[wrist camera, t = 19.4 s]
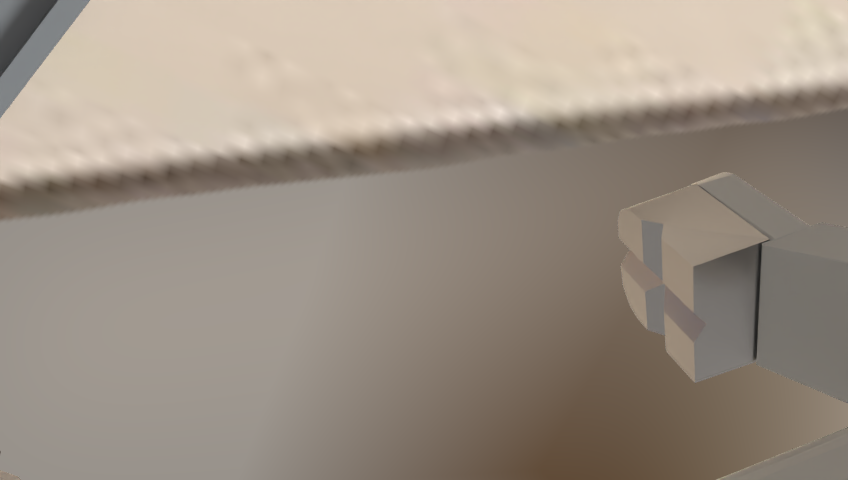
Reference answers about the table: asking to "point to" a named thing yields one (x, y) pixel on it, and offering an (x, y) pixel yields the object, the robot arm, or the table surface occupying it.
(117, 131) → the table surface
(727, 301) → the robot arm
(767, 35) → the table surface
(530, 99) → the table surface
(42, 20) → the tray
